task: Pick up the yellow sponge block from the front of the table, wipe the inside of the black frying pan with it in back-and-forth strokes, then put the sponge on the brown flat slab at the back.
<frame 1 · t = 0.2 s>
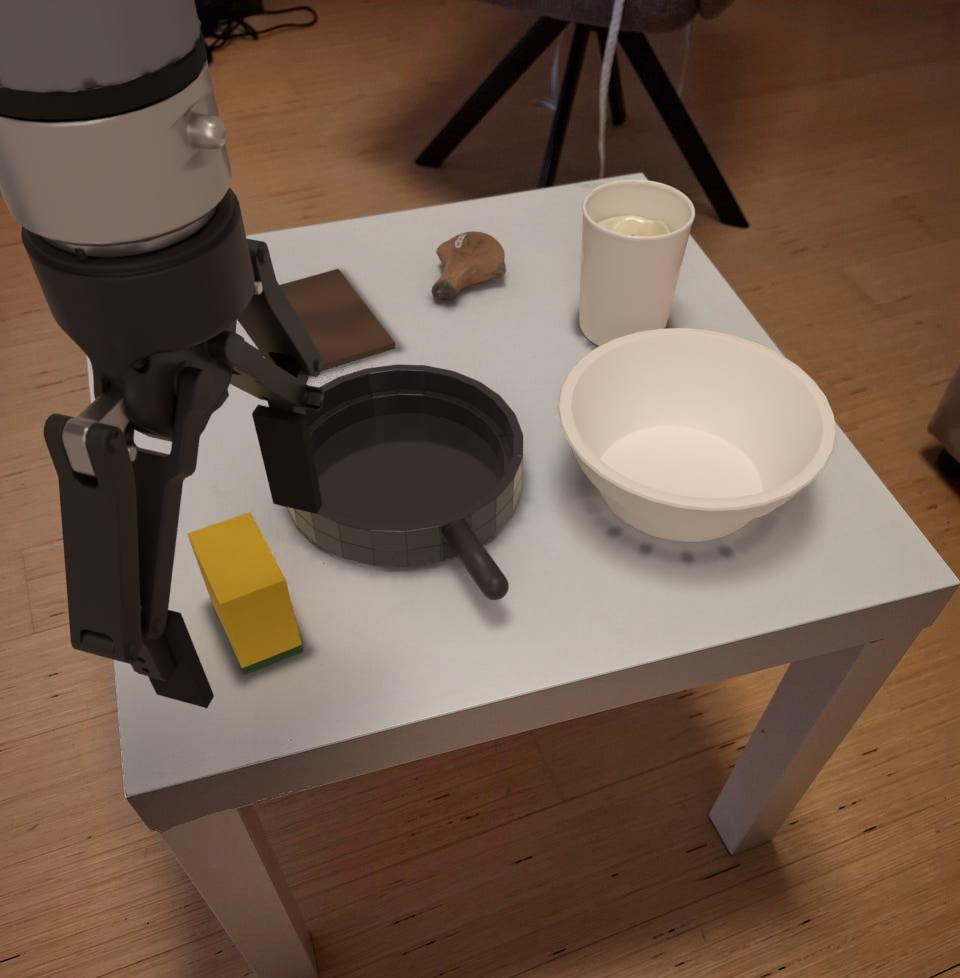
hand: (246, 593, 50), 17 cm above the table, tool pointing down, fingers open, 13 cm apart
pan: (403, 482, 78), on the table
bowl: (677, 489, 78), on the table
sponge: (257, 628, 69), on the table
oil lamp: (465, 282, 96), on the table
candle holder: (621, 328, 92), on the table
brown flat slab: (319, 323, 92), on the table
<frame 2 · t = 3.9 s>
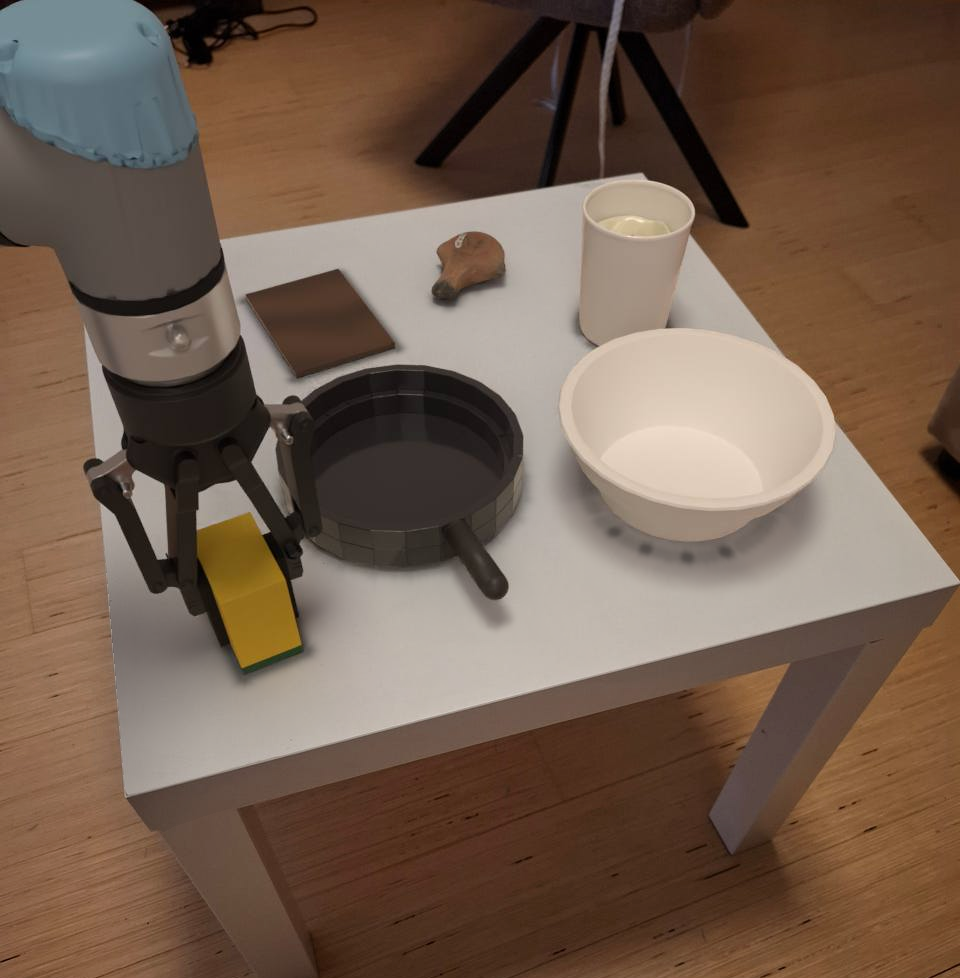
hand: (254, 618, 68), 1 cm above the table, tool pointing down, fingers closed on sponge, 4 cm apart
sponge: (257, 628, 69), on the table, touching gripper
everything else where it was.
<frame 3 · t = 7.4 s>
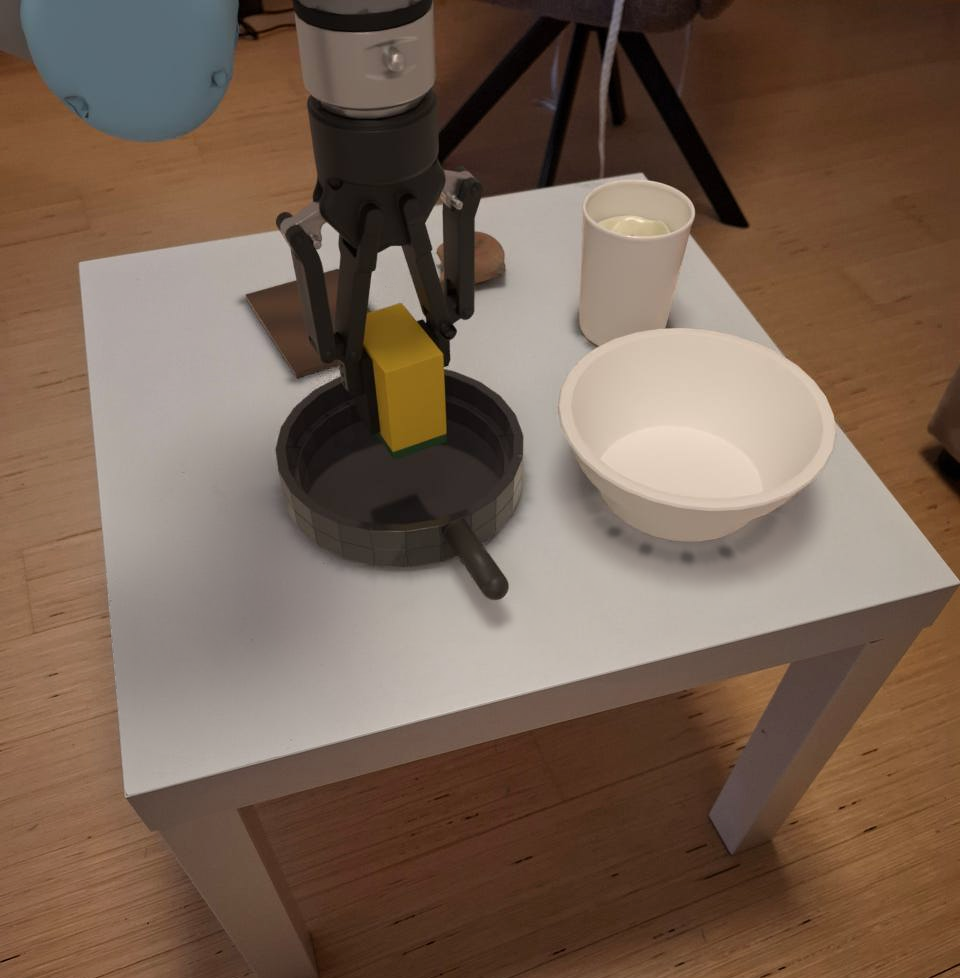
hand: (400, 411, 72), 7 cm above the table, tool pointing down, fingers closed on sponge, 4 cm apart
sponge: (401, 424, 73), point 6 cm above the table, touching gripper
everything else where it was.
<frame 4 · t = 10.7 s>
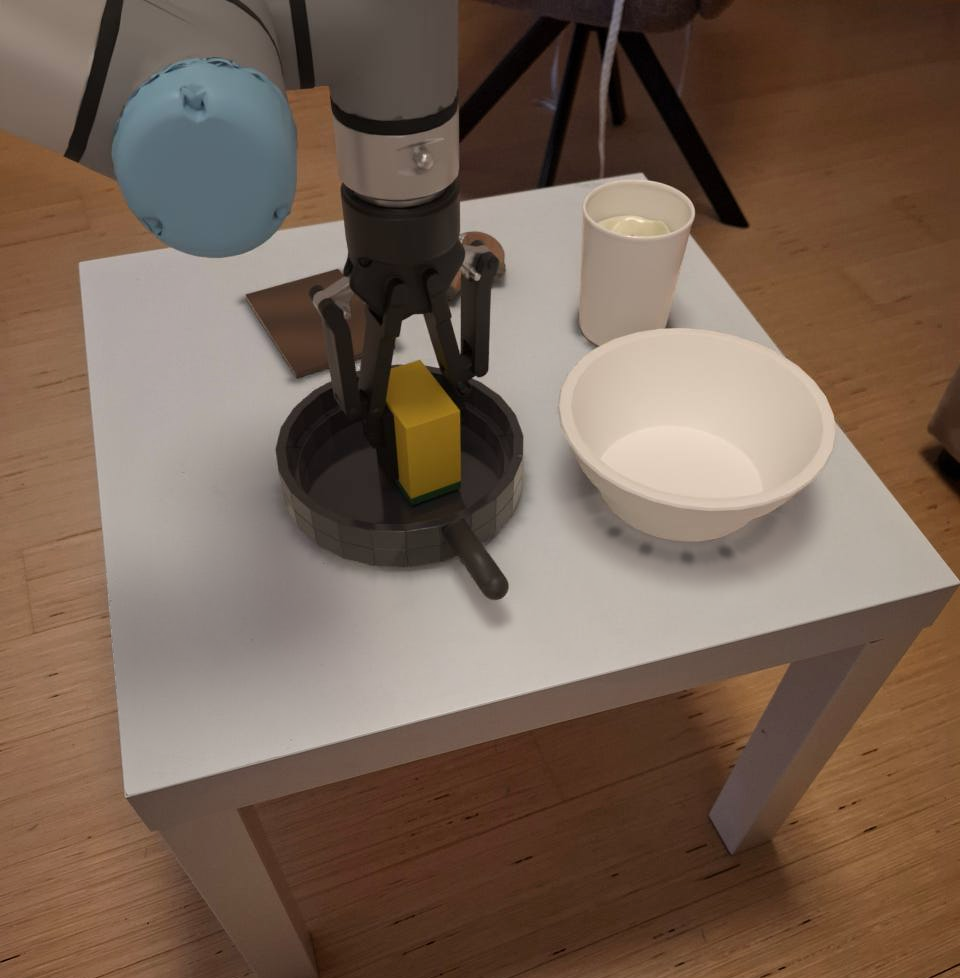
hand: (417, 459, 77), 2 cm above the table, tool pointing down, fingers closed on sponge, 4 cm apart
sponge: (418, 470, 78), point 1 cm above the table, touching gripper
everything else where it was.
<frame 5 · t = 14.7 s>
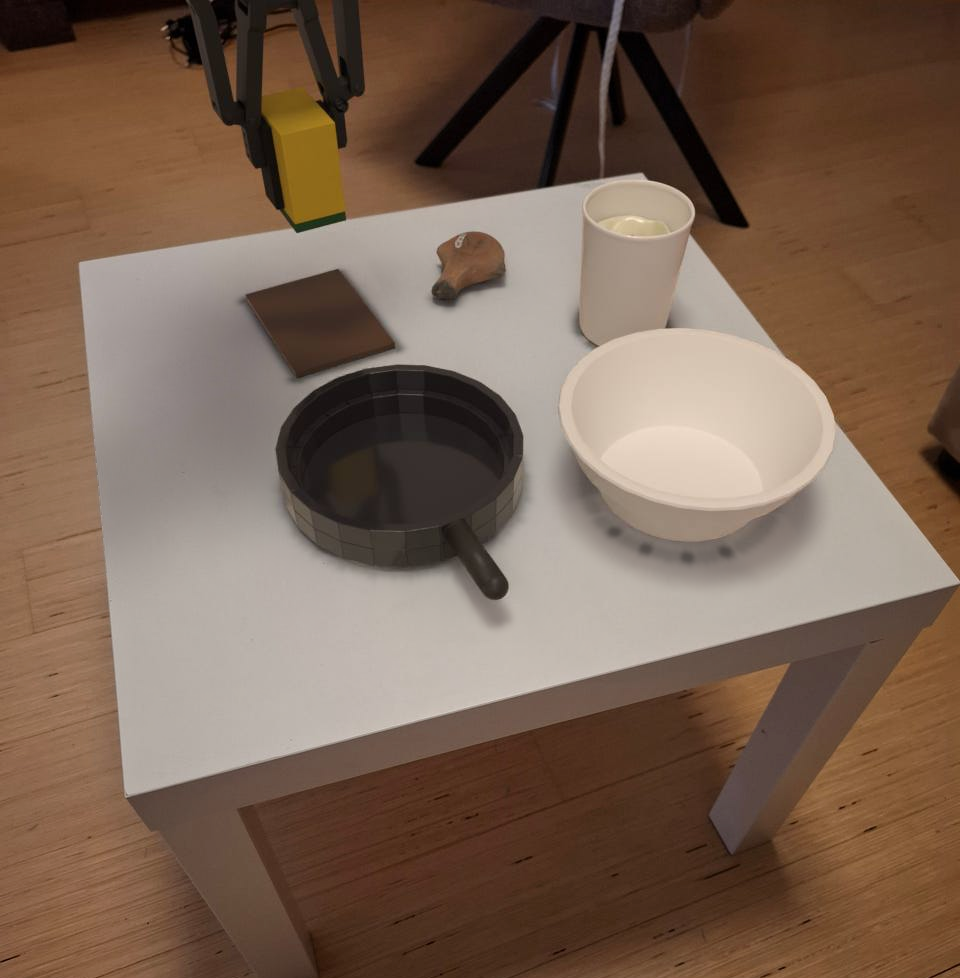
hand: (304, 193, 80), 14 cm above the table, tool pointing down, fingers closed on sponge, 4 cm apart
sponge: (306, 207, 81), point 12 cm above the table, touching gripper
everything else where it was.
when the fingers open (2 cm above the table, at t = 17.7 s): sponge stays where it is, resting on brown flat slab.
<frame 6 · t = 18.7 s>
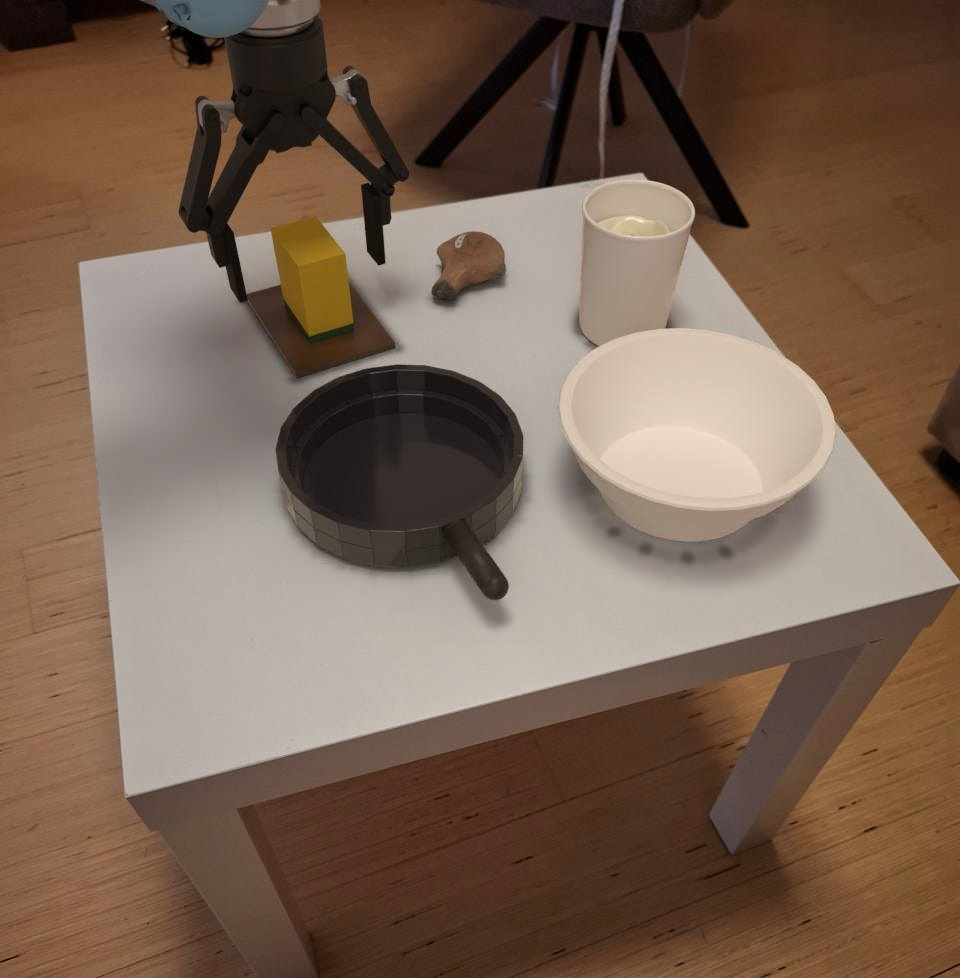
hand: (309, 276, 87), 5 cm above the table, tool pointing down, fingers open, 13 cm apart
sponge: (319, 317, 91), point 1 cm above the table, touching brown flat slab
everything else where it was.
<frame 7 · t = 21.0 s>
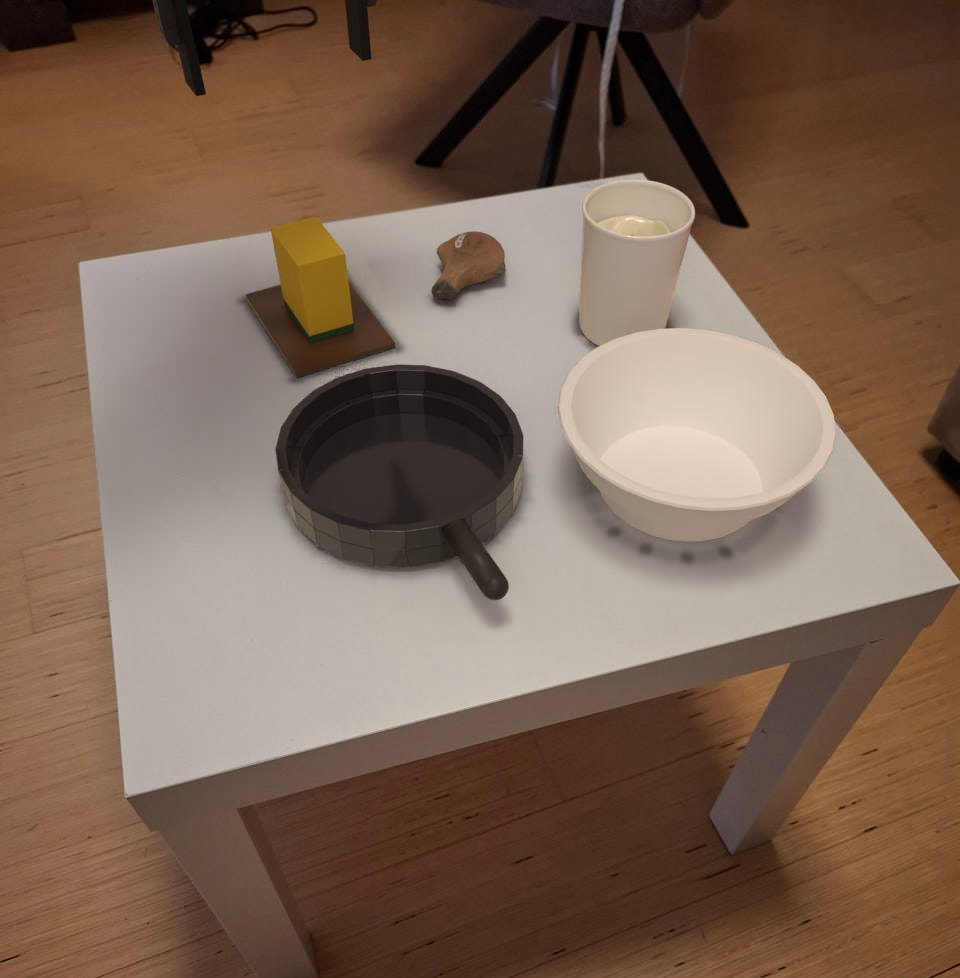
hand: (280, 71, 74), 23 cm above the table, tool pointing down, fingers open, 13 cm apart
nothing on the table moved.
at the end: sponge inside the target area on the brown flat slab (0.1 cm from its centre), point 0.6 cm above the brown flat slab's base; the gripper is holding nothing; sponge tilted 0° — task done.
